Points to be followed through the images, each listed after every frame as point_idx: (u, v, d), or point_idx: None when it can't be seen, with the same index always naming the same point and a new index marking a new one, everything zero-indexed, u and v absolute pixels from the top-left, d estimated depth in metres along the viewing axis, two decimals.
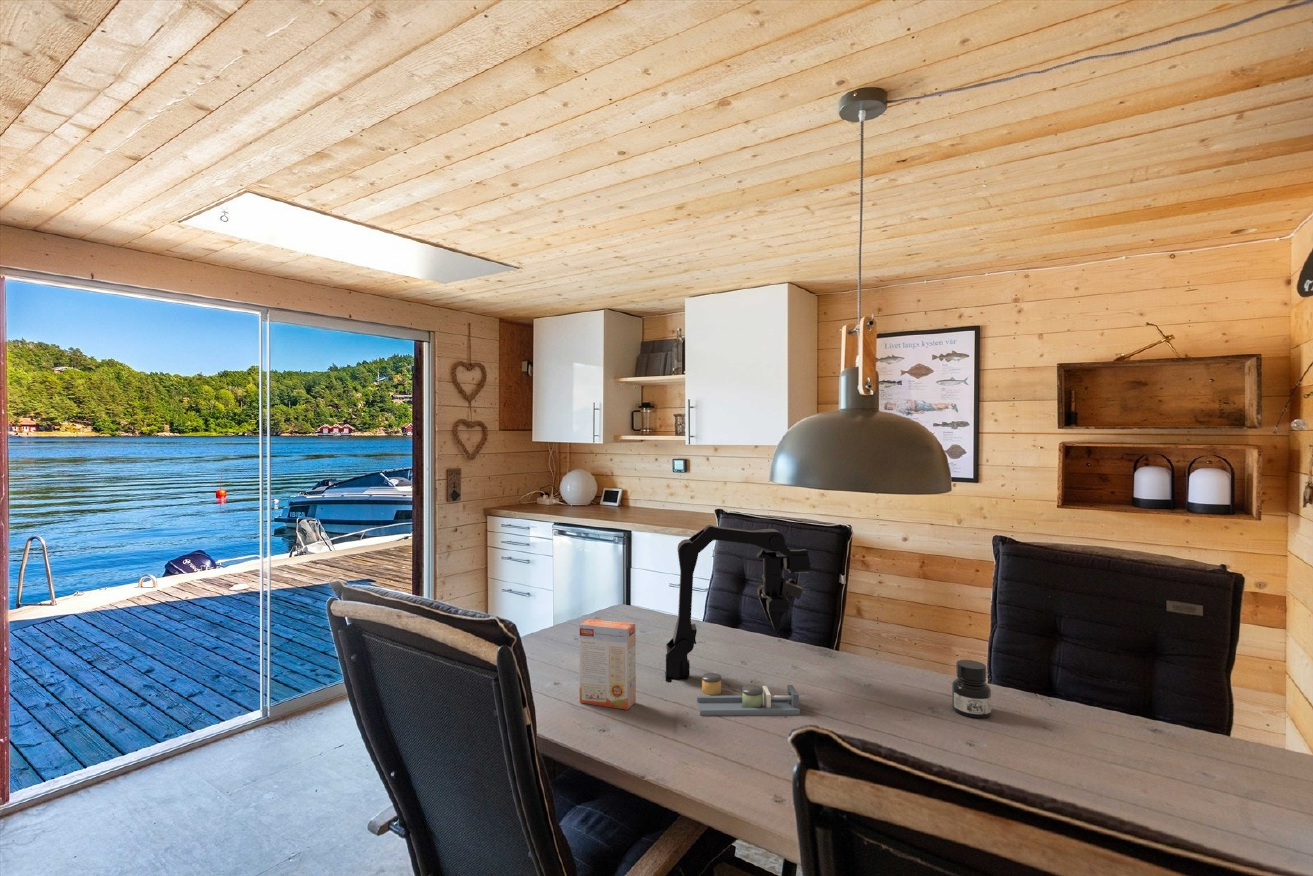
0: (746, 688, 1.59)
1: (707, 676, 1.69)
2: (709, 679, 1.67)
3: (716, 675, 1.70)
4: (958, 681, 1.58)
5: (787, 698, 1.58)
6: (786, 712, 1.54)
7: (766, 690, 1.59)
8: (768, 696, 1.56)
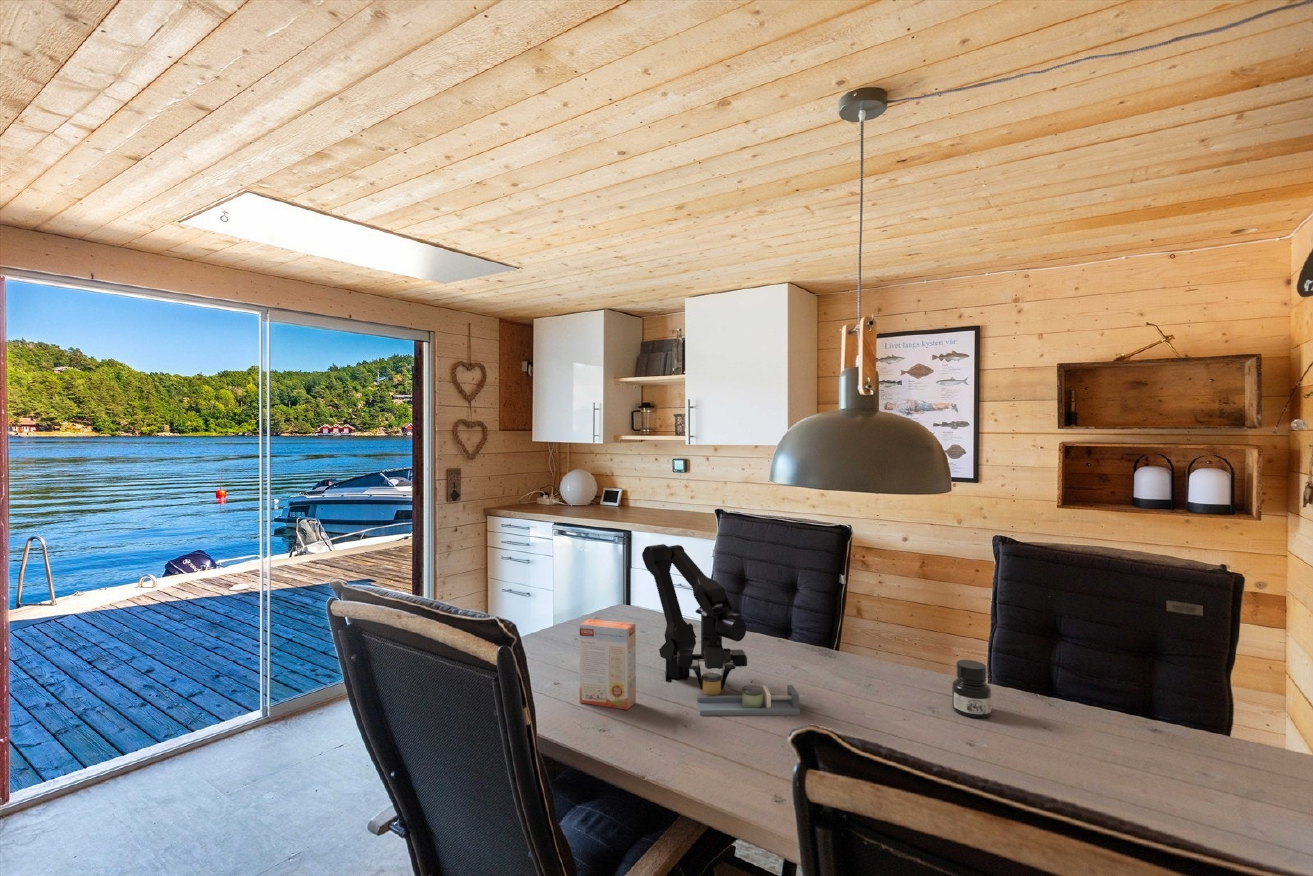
0: (746, 688, 1.59)
1: (707, 676, 1.69)
2: (709, 679, 1.67)
3: (716, 675, 1.70)
4: (958, 681, 1.58)
5: (787, 698, 1.58)
6: (786, 712, 1.54)
7: (766, 690, 1.59)
8: (768, 696, 1.56)
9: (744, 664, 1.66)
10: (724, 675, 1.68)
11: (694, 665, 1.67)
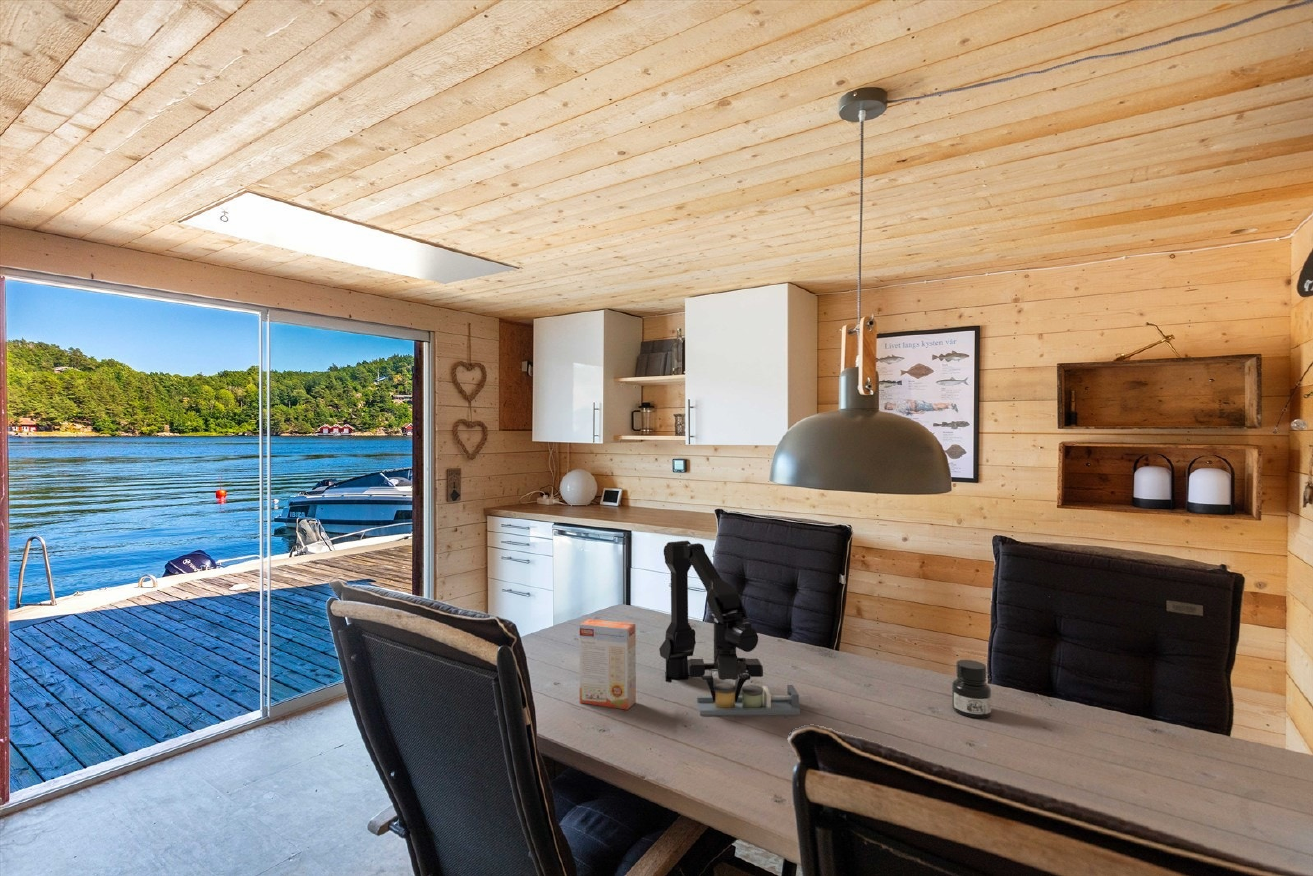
0: (746, 688, 1.59)
1: (720, 687, 1.59)
2: (722, 690, 1.56)
3: (730, 685, 1.59)
4: (958, 681, 1.58)
5: (787, 698, 1.58)
6: (786, 712, 1.54)
7: (766, 690, 1.59)
8: (768, 696, 1.56)
9: (760, 674, 1.56)
10: (738, 686, 1.57)
11: (706, 675, 1.56)
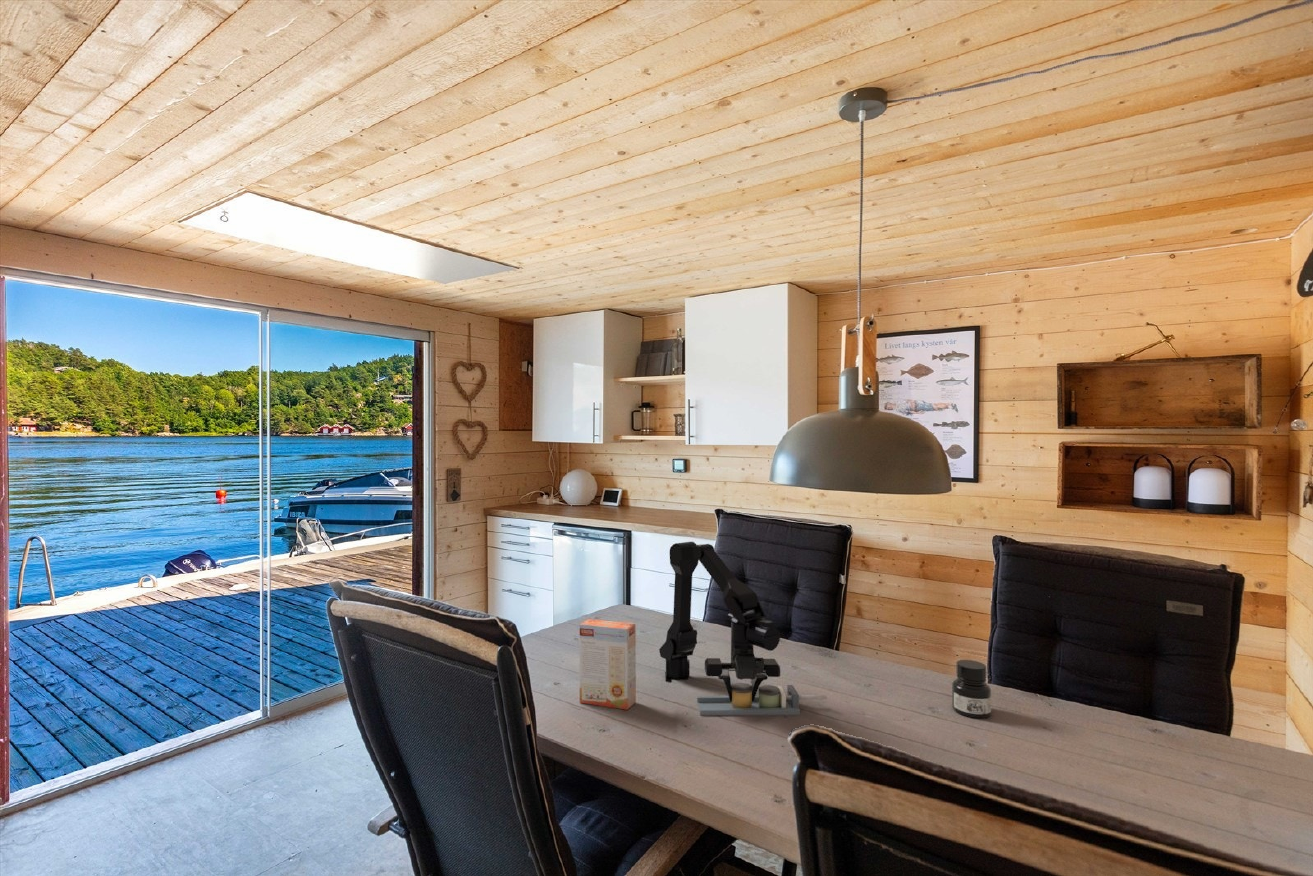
0: (762, 688, 1.59)
1: (737, 686, 1.59)
2: (739, 690, 1.57)
3: (746, 685, 1.59)
4: (958, 681, 1.58)
5: (802, 698, 1.58)
6: (786, 712, 1.54)
7: (781, 690, 1.59)
8: (783, 696, 1.56)
9: (777, 674, 1.56)
10: (755, 686, 1.57)
11: (724, 675, 1.56)
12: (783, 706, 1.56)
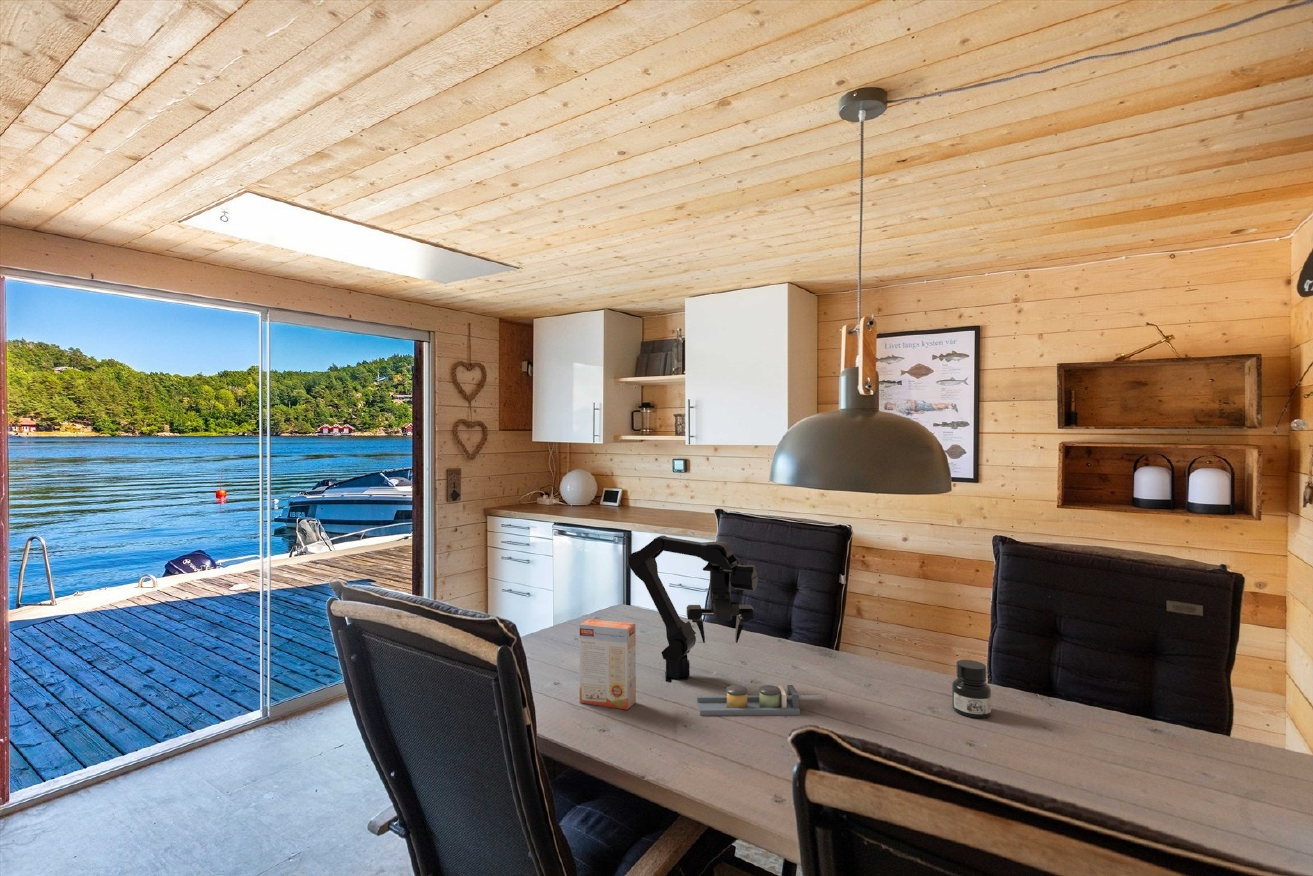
0: (763, 688, 1.59)
1: (732, 689, 1.59)
2: (735, 692, 1.57)
3: (742, 688, 1.59)
4: (958, 681, 1.58)
5: (802, 698, 1.58)
6: (786, 712, 1.54)
7: (781, 690, 1.59)
8: (784, 696, 1.56)
9: (752, 617, 1.72)
10: (739, 628, 1.73)
11: None
12: (784, 706, 1.56)
